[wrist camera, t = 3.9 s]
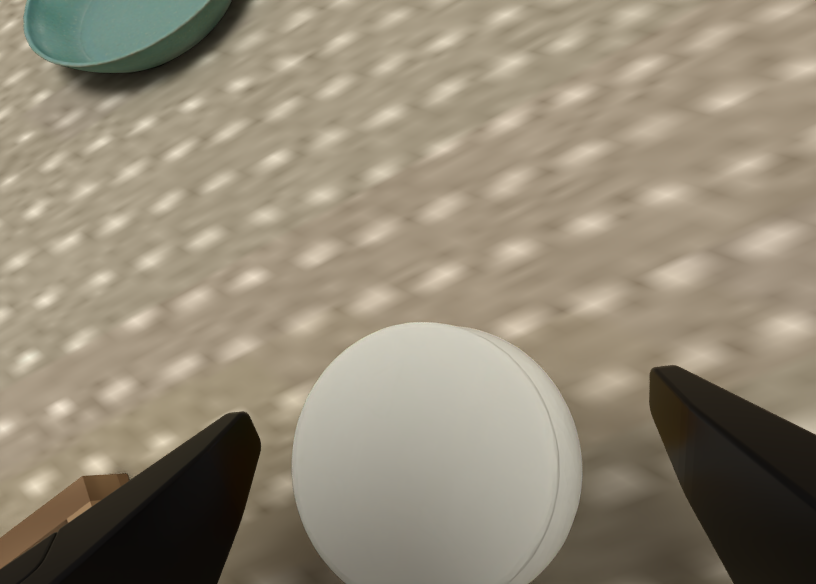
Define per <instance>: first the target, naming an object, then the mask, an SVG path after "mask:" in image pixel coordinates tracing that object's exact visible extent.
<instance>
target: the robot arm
mask: <svg viewBox="0 0 816 584" xmlns="http://www.w3.org/2000/svg"><path fill="white" fill-rule="evenodd" d="M649 405H650V410H651V414H652V417H653V419H654V422H655V424H656V427H657V429H658V432H659V434H660V436H661V439H662V441H663V444H664V446H665V449H666V451H667V453H668V456H669V458H670V461H671V463H672V466H673V468H674V470H675V473H676V475H677V478H678V480H679V482H680V485H681V487H682V489H683V491H684V493H685V495H686V497H687V499H688V501H689V503H690V505H691V507H692V509H693V511H694V512H695V514H696V516H697V518H698V520H699V521H700V523H701V525H702V527H703V529H704V531H705V532H706V534H707V536H708V538H709V540H710V541H711V543H712V545H713V547H714V549H715V551H716V552H717V554H718V556H719V558H720V560H721V561H722V563H723V565H724V567H725V569H726V570H727V572H728V574H729V576H730V578H731V580H732V581H733V583H734V584H816V435H815V434H813V433H811V432H809V431H807V430H805V429H803V428H801V427H799V426H797V425H795V424H793V423H791V422H789V421H787V420H785V419H783V418H781V417H779V416H777V415H775V414H773V413H771V412H769V411H767V410H765V409H763V408H761V407H759V406H757V405H755V404H753V403H751V402H749V401H747V400H745V399H743V398H741V397H739V396H737V395H735V394H733V393H731V392H729V391H727V390H725V389H723V388H721V387H719V386H717V385H715V384H713V383H711V382H709V381H707V380H705V379H703V378H701V377H699V376H697V375H695V374H693V373H691V372H689V371H687V370H685V369H683V368H681V367H679V366H676V365H669V366H660V367H654V368H652V369H651V372H650V390H649ZM260 451H261V442H260V438H259V436H258V434H257V431H256V429H255V427H254V425H253V422H252V420H251V418H250V416H249V414H247V413H246V412H233V413H228V414H226V415H224V416H222V417H221V418H220V419H218V420H217V421H215V422H214V423H212V424H211V425H209V426H208V427H207V428H205V429H204V430H202V431H201V432H199V433H198V434H196V435H195V436H193V437H192V438H191V439H189V440H188V441H186V442H185V443H183V444H182V445H180V446H179V447H177V448H176V449H175V450H173V451H172V452H170V453H169V454H167V455H166V456H164V457H163V458H162V459H160V460H159V461H157V462H156V463H154V464H153V465H151V466H150V467H148V468H147V469H146V470H144V471H143V472H141V473H140V474H138V475H137V476H135V477H134V478H132V479H131V480H130V481H128V482H127V483H125V484H124V485H122V486H121V487H119V488H118V489H117V490H115V491H114V492H112V493H111V494H109V495H108V496H106V497H105V498H103V499H102V500H101V501H99V502H98V503H96V504H95V505H93V506H92V507H90V508H89V509H87V510H86V511H85V512H83V513H82V514H80V515H79V516H77V517H76V518H74V519H73V520H72V521H70V522H69V523H67V524H66V525H64V526H63V527H61V528H60V529H59V531H58V532H54V533H52V534H51V535H50V536H48V537H47V538H45V539H44V540H42V541H41V542H39V543H38V544H37V545H35V546H34V547H32V548H31V549H29V550H28V551H26V552H25V553H23V554H22V555H20V556H19V557H17V558H16V559H14V560H13V561H11V562H10V563H8V564H7V565H5V566H4V567H2V568H1V569H0V584H217V583H218V581H219V578H220V575H221V573H222V570H223V568H224V565H225V562H226V560H227V557H228V554H229V552H230V549H231V547H232V544H233V541H234V539H235V536H236V533H237V531H238V528H239V525H240V522H241V519H242V516H243V513H244V510H245V506H246V503H247V499H248V495H249V492H250V488H251V484H252V481H253V477H254V473H255V470H256V466H257V462H258V459H259V455H260Z"/></svg>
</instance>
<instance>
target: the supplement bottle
mask: <svg viewBox="0 0 816 584" xmlns="http://www.w3.org/2000/svg"><path fill="white" fill-rule="evenodd" d="M292 481H293V491H294V496H295V501H296V504H297V508H298V512H299V515H300V518H301V520H302V523H303V526H304V528H305V530H306V532H307V534H308V536H309V538H310V540H311V542H312V544H313V546H314V548H315V549H316V551H317V552H318V554H319V555H320V557H321V558H322V559H323V561H324V562H325V563H326V564H327V565H328V567H329V568H330V569H331V570H332V571H333V572H334V573H335V574H336V575H337V576H338V577H339V578H340V579H341V580H342V581H343V582H344V583H346V584H529V583H530V582H531V581H532V580H534V579H535V578H536V577H537V576H538V575H539V574H540V573H541V572H542V571H543V570H544V569H545V568H546V567H547V566H548V565H549V564H550V562H551V561H552V560H553V559H554V557H555V556H556V555H557V553H558V552H559V550H560V549H561V547H562V546H563V544H564V542H565V540H566V538H567V536H568V534H569V531H570V529H571V527H572V524H573V521H574V518H575V515H576V512H577V509H578V505H579V501H580V495H581V489H582V456H581V448H580V442H579V437H578V433H577V430H576V426H575V423H574V420H573V418H572V415H571V413H570V410H569V408H568V406H567V404H566V402H565V400H564V398H563V397H562V395H561V393H560V391H559V389H558V388H557V387H556V385H555V384H554V382H553V381H552V379H551V378H550V377H549V376H548V375H547V373H546V372H545V371H544V370H543V369H542V368H541V367H540V366H539V365H538V364H537V363H536V362H535V361H534V360H533V359H532V358H531V357H530V356H528V355H527V354H526V353H525V352H523V351H522V350H521V349H520V348H518V347H516V346H515V345H513V344H511V343H509V342H508V341H506V340H504V339H502V338H500V337H498V336H495V335H493V334H490V333H487V332H484V331H481V330H477V329H473V328H468V327H460V326H453V325H449V324H443V323H434V322H412V323H405V324H399V325H394V326H390V327H387V328H384V329H381V330H379V331H376V332H374V333H372V334H370V335H368V336H366V337H364V338H362V339H360V340H359V341H357V342H356V343H354V344H353V345H351V346H350V347H348V348H347V349H346V350H344V351H343V352H342V353H341V354H340V355H339V356H337V357H336V358H335V360H334V361H333V362H332V363H331V364H330V365H329V366H328V367H327V368H326V369H325V370H324V372H323V373H322V374H321V376H320V377H319V379H318V380H317V382H316V383H315V385H314V387H313V388H312V390H311V392H310V393H309V395H308V397H307V399H306V401H305V404H304V406H303V409H302V411H301V414H300V416H299V419H298V423H297V427H296V431H295V436H294V443H293V451H292Z"/></svg>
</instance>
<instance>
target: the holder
mask: <svg viewBox="0 0 816 584" xmlns="http://www.w3.org/2000/svg"><path fill="white" fill-rule="evenodd" d="M128 481H129V478H128V476H127V474H110V475H92V476H82V477H80V478H79V479H78V480H77V481H75V482H74V483H73V484H71V485H70V486H69V487H67V488H66V489H65V490H63V491H62V492H61V493H59V494H58V495H57V496H55V497H54V498H53V499H51V500H50V501H49V502H47V503H46V504H45V505H43V506H42V507H41V508H39V509H38V510H37V511H35V512H34V513H33V514H31V515H30V516H29V517H27V518H26V519H25V520H23V521H22V522H21V523H19V524H18V525H17V526H15V527H14V528H13V529H11V530H10V531H9V532H7V533H6V534H5V535H3V536H2V537H1V538H0V569H1V568H2V567H4V566H5V565H7V564H8V563H10V562H11V561H13V560H14V559H16V558H17V557H19V556H20V555H22V554H23V553H25V552H26V551H28V550H29V549H31V548H32V547H34V546H35V545H37V544H38V543H39V542H41V541H42V540H44V539H45V538H47V537H48V536H50V535H51V534H52V533H54V532H58V531H59V529H60V528H61V527H63V526H64V525H66V524H67V523H69V522H70V521H72V520H73V519H74V518H76V517H77V516H79V515H80V514H82V513H83V512H85V511H86V510H87V509H89V508H90V507H92V506H93V505H95V504H96V503H98V502H99V501H101V500H102V499H103V498H105V497H106V496H108V495H109V494H111V493H112V492H114V491H115V490H117V489H118V488H119V487H121V486H122V485H124V484H125V483H127V482H128Z"/></svg>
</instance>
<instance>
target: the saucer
mask: <svg viewBox="0 0 816 584" xmlns="http://www.w3.org/2000/svg"><path fill="white" fill-rule="evenodd" d="M231 1H232V0H27V2H26V6H25V13H24V16H23V19H24V20H23V21H24V25H23V27H24V33H25V37H26V40H27V42H28V43H29V46H30V47H31V49H32V50H33V51H34V52H35V53H36V54H37V55H39V56H40V57H41V58H43V59H45V60H47V61H49V62H51V63H54V64H58V65H61V66H65V67H69V68H73V69H77V70H83V71H90V72H101V73H130V72H137V71H142V70H146V69H150V68H154V67H156V66H159V65H162V64H164V63H166V62H168V61H171V60H172V59H174V58H176V57H178V56H180V55H181V54H183V53H185V52H186V51H188V50H189V49H191V48H192V47H194V46H195V45H196V44H197V43H199V42H200V41H201V40H202V39H203V38H204V37H205V36H206V35H207V34H208V33H209V32H210V31H211V30H212V29H213V28H214V27H215V26H216V25H217V23H218V22H219V21H220V20H221V18H222V17H223V15H224V14H225V12H226V11H227V9H228V7H229V5H230V3H231Z"/></svg>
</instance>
